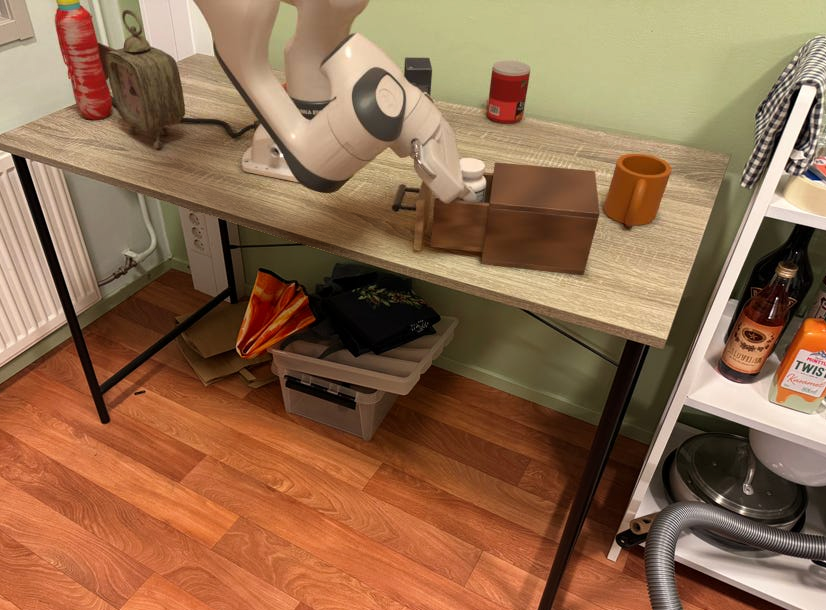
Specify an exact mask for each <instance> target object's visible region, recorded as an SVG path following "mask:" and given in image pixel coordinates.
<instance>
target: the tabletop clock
mask: <svg viewBox="0 0 826 610" xmlns="http://www.w3.org/2000/svg"><path fill="white" fill-rule="evenodd" d="M127 14H128V15H129V16H132V17H133V18H134V19H135V21H136V22H137V24H138V26H139V27H138V28H139V30H138V31H137V27H136V26H135V25H132V26H129V25H128V24H127V22H126V15H127ZM121 17H122V18H121V19H122V23H123V25H124V27H125V28H126V30H127V31H128V32H129V33H130V34H131V35H130V36H128V37H126V38H125V40H124V41H123V47H122V48H119V49H115V50H114V51H110V52H106V53H105V61H106V68H107V72H108V77H109V78H108V81H109V86H110V89H111V93H112V97H113V99H114V101H115V104H116V107H117V108H116V107H115V108H116V109H117V112H118V115H119V116H120V117H121V118H122V120H124V121H125V122H126V123H127V124H128V125H130V126H129V127H128V132H129V133H130V134H136V133H137V131H140V132H143V133H144V134H145V133H150V132H153V131H154V133H155V141H154V143H153V147H154V148H155V149H157V150H161V149H162V148H163V144H162V142H161V141H160V134H161V135H162V136H167V135H168V134H169V129H168V128H167V127H168V126H171V125H172V126H173V125H175V124H178V123H181V122H180V121H181V120H182V118H185V116H186V104H185V98H184V91H183V86H182V80H181V75H180V69H179V67H178V64H177V61H176V59H175V58H174V57H173V56H172V55H170V54H169V53H167V52H165V51H163V50H162V49H158V48H157V47H153V46H151V45H150V42H149V41H148V40H147V38H145V36H143V35H142V33H143V26H142V22H141V20H140V18H139V16H138V15H137V14H136V13H135V12H133V11H132V10H130V9H124V10H123V11H122V14H121Z"/></svg>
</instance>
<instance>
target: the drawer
mask: <svg viewBox="0 0 826 610" xmlns="http://www.w3.org/2000/svg"><path fill="white" fill-rule="evenodd" d="M493 173H494V172H487V171H484V174H483V176H484V177H485V179H486V190H485V198H484V203H482V202H472V201H461V200H453V201H451V202H450V203H448V204H446V203H444V202H442V201H441V200H440V199H439V198H438V197H434V200H433V192H432V191H431V190H430V189H429V187H428V186H427V185H426V184H425V183H424V182H423V181H422V180H421V185H420V187H419V188H417V187H407V186H406V185H405V184H404V183H401V184H399V185H398V187H397V190H396V193H395V196H394V199H393V201H392V204H391V210H392V212H394V213H398V212H400V211H411V212H415V223H414V238H413V250H414V251H415V250H417V251H421V250H423V249H422V248H423V244H424V241H425V237H426V233H427V229H428V225H429V221H430V216H431V213H432V225H431V238H430V247H432V248H442V249H451V250H459V251H467V252H468V251H469V252H477V253H483V247H484V240H485V233H486V225H487V218H488V211H489V204H490V196H491V188H492V181H493ZM406 193H414V194H417V198H416V205H407V204H403V201H404V198H405V196H406ZM432 203H433V212H432Z"/></svg>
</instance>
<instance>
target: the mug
mask: <svg viewBox="0 0 826 610" xmlns="http://www.w3.org/2000/svg"><path fill="white" fill-rule="evenodd" d="M672 169H673V168H672V166H671V165H670V163H668V162H667V161H665V160H664V159H662V158H660V157H658V156H654V155H651V154H644V153H627V154H624V155H620V156H619V157H618V158H617V160H616V163H615V167H614V170H613V173H612V177H611V180H610V183H609V187H608V191H607V195H606V197H605V203H604V205H603V212H604V214H605V215H606V216H607V217H609V218H610V219H612V220H614V221H615V222H618V223H621V224H625V226H626V227H630V228H631V227H632V226H643V225H648V224H650V223H652V222H653V221H654V220H656V218H657V214H658V212H659V208H660V205H661V203H662V200H663V197H664V194H665V191H666V187H667V186H668V182H669V180H670V176H671V174H672Z"/></svg>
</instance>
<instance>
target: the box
mask: <svg viewBox="0 0 826 610" xmlns="http://www.w3.org/2000/svg"><path fill="white" fill-rule="evenodd" d="M403 75H404V77H405V78H406V80H407V81H408V82H409V83H410V84H412V85H413V86H415V87H417V88H418V89H419V90H420V91H421V92H422V93H423V92H426V93H427V94H428V95H429V96H430V97H431V91H432V78H433V67H432V62H431V58H430V57H407V56H406V57H405V58H404V70H403Z"/></svg>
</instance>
